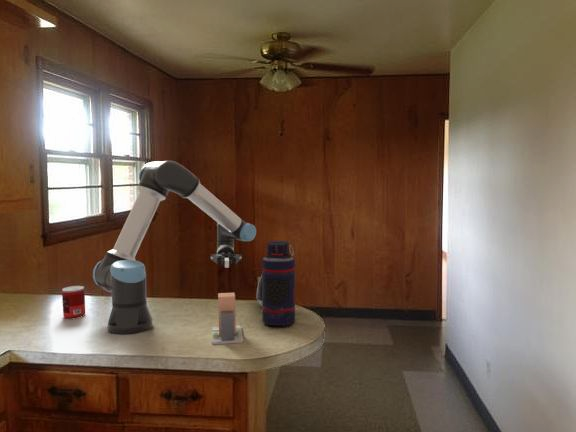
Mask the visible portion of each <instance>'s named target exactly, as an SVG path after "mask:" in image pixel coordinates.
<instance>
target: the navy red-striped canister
mask: <svg viewBox="0 0 576 432" xmlns="http://www.w3.org/2000/svg"><path fill="white" fill-rule="evenodd" d="M291 251H292V252H291ZM294 254H295V252H294V248H293V246H292V244H290V243H289V241H283V240H281V241H280V240H271V241H269V242H267V253H266V254H265V256H264V257H263V258H261V268H262V269H261V275H262V306H261V307H262V309H261V310H262V322H263V323H264V326H265V327H270V325H271V326H279V327H281V326H283V328H284V329H285V328H289V327H290V325H292V324H293V323H294V322H296V270H295V267H296V258H294V257H293V256H294Z"/></svg>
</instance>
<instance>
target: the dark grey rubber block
mask: <svg viewBox="0 0 576 432" xmlns="http://www.w3.org/2000/svg"><path fill="white" fill-rule="evenodd" d="M221 340H222V341H234V313H233V311H221Z"/></svg>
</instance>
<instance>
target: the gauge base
mask: <svg viewBox="0 0 576 432" xmlns="http://www.w3.org/2000/svg"><path fill="white" fill-rule="evenodd" d="M211 328H212V331H211V333H212V335H211V336H212V337H211V344H212V345H221V344H224V345H225V344H236V343H237V344H238V343H244V335H243V330H236V335H234V341H222V340H221V336H219V332H213V329H219V326H212V327H211ZM236 328H242V325H239V324H238V325H236Z"/></svg>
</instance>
